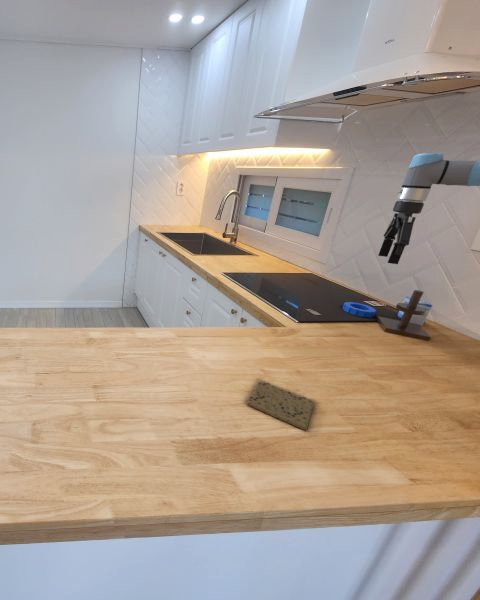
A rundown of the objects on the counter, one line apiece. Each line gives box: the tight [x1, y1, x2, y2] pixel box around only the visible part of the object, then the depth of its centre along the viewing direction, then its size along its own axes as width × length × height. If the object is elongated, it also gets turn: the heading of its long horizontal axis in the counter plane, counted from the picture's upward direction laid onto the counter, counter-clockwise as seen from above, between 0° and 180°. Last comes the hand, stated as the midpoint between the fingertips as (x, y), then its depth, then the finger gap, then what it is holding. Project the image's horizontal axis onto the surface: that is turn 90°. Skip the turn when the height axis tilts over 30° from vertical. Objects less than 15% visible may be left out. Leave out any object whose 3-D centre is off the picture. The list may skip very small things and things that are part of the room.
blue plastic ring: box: [341, 301, 377, 319], centre depth 135 cm, size 10×10×2 cm
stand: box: [375, 289, 431, 342], centre depth 119 cm, size 12×12×15 cm
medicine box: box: [397, 295, 433, 327], centre depth 128 cm, size 8×4×9 cm, turn 164°
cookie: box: [246, 380, 315, 431], centre depth 77 cm, size 12×12×1 cm
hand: (387, 259), depth 126 cm, fingers open, 13 cm apart
